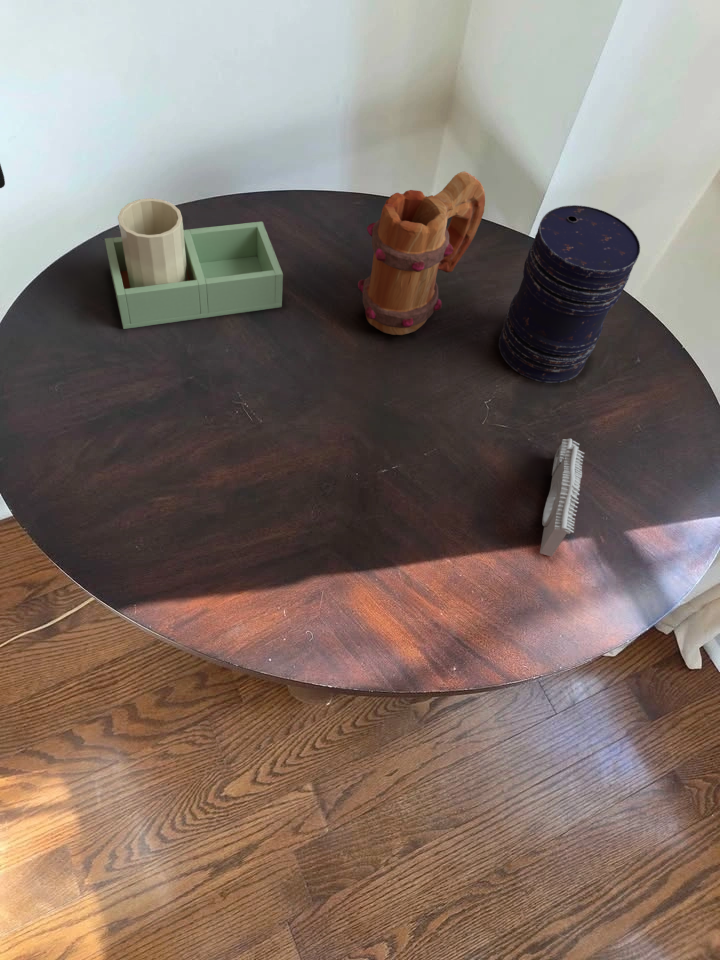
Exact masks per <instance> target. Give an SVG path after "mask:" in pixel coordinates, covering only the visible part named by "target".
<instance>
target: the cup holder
mask: <svg viewBox="0 0 720 960" xmlns="http://www.w3.org/2000/svg"><path fill="white" fill-rule="evenodd" d="M183 231H184V242H185V253H186V264H187V275H188V281H184V282H176V283H168V284H160V285H152V286H144V287H136V288H130V286H129V281H128V275H127V269H126V263H125V257H124V251H123V245H122V239H121V236H118V237H116V236H115V237H108V238H107V237H106V238H104V243H105V248H106V253H107V260H108V264H109V269H110V275H111V277H112V278H111V279H112V283H113V288H114V293H115V298H116V302H117V306H118V311H119V316H120V319H121V325H122V329H123V330H127V329H136V328H141V327H149V326H157V325H163V324H171V323H177V322H184V321H193V320H199V319H206V318H213V317H220V316H227V315H235V314H243V313H251V312H256V311H263V310H270V309H271V310H272V309H278V308H282V306H283V284H284V281H283V280H284V274H283V271H282V268H281V266H280V263H279V260H278V258H277V255H276V253H275V249H274V247H273V245H272V242H271V240H270V237H269V235H268V232H267V230H266V226H265V224H264V222H263V221H256V222H255V221H253V222H245V223H236V224H235V223H234V224H227V225H218V226H208V227H199V228H190V229H183Z"/></svg>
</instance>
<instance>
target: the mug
mask: <svg viewBox="0 0 720 960" xmlns="http://www.w3.org/2000/svg"><path fill="white" fill-rule="evenodd" d="M485 207H486V192H485V189H484V186H483V184H482V183H481V181H480V180H479V179H477V177H476V176H475V175H472V174H470V173H469V172H467V171H460V172H459V173H457V174H455V175H454V176H453V177H452V178H451V179H450V181H448V183H446V185H445V186H444V187H443V189H442V190H441V191H439V192H438V193H436V194H435V195H429V196H427V195H425V194H424V192H423V191H421V190H416V189H415V190H414V189H409V190H405V192H403V193H400V192H395V193H393V194H391V195H390V197H389V198H388V199H386V200H385V203H384V205H383V207H382V209H381V214H380V217H379V219H378V220H377V221H375V222H372V223H370V224H368V226H367V227H366V230H367V233H368V234H369V236H370V237H371V246H372V252H373V256H372V257H373V258H372V266H371V273H370V275H369V276H368V277H367V278H365V279H364V278H363V279H360V280H358V283H357V287H358V290H359V291H360V292H361V293H362V305H363V307H364V310H365V311H364V313H365V314H364V315H365V318H366V320H367V322H368V323H369V325H371V326H372V327H374V328H375V329H376V330H379V331H380V332H382V333H384V334H388V335H392V336H396V335H397V336H403V335H408V334H410V333H414V332H416V331H417V330H419V329H420V328H421V327H423V325H425V324H426V322H427V320H428V319H429V318H430V317H431V316H432V315H433V314H434V313H435V312H437V311H439V310H441V309H442V306H443V302H442V300H441V299H440V298H439V293H440V292H439V291H440V290H439V285H438V283H437V276H438V275H437V274H438V270H439V271H442V272H444V273H449V274H450V273H452V272H453V271H454V269H455V267H456V265H458V263H459V261H460V260H461V259H462V257H463V256H464V254H465V253H466V252H467V250H468V248H469V247H470V245H471V243H472V242H473V240H474V238H475V236H476V234H477V231H478V228H479V226H480V224H481V222H482V219H483V217H484V213H485ZM450 218H451V219H450ZM448 219H450V222H449V225H448V226H447V224H448Z"/></svg>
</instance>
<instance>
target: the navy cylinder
mask: <svg viewBox="0 0 720 960" xmlns="http://www.w3.org/2000/svg"><path fill="white" fill-rule="evenodd" d="M640 245H641V244H640V240H639V238H638V236H637V234H636V233H635V232H634V231H633V229H632V228H631V227H630V226H629V225H628V224H627V223H626V222H624V221H623V220H621V219H620V218H618V217H617V216H615V215H613V214H611V213H610V212H608V211H605V210H603V209H599V208H596V207H593V206H586V205H577V204H576V205H575V204H574V205H571V204H570V205H563V206H558V207H556V208H553V209H551V210H549V211H548V212H547V213H545V214H544V215H543V217H542V218H541V220H540V222H539V225H538V228H537V232H536V234H535V236H534V239H533V240H532V242H531V245H530V246H529V247H530V248H529V250H528V253H527V257H526V259H525V261H524V265H523V276H522V277H523V278H522V280H521V283H520V285H519V288H518V291H516V293H515V294H514V295H513V298H512V300H511V302H510V305H509V307H508V310H507V312H506V314H505V317H504V321H503V328H502V330H501V332H500V334H499V339H498V349H499V352H500V354H501V356H502V358H503V360H504V361H505V363H506V364H507V365H508V366H509V367H510V368H511V369H513V370H514V371H515V372H517V373H518V374H520V375H521V376H523V377H526V378H527V379H531V380H533V381H536V382H539V383H546V384H556V383H564V382H567V381H570V380H572V379H574V378H575V377H578V375H579V374H580V373H581V372H582V370H583V369H584V367H585V365H586V362H587V360H588V359H589V357H590V356H591V354H592V353H593V352H594V350H595V347H596V345H597V343H598V340H599V339H600V336H601V334H602V331H603V328H604V322H605V319H606V318H607V315H608V313H609V312H610V310H611V309H612V308H613V307H614V306H615V304H616V303H617V302H618V300H619V299H620V297H621V295H622V291H623V290H624V289H625V287H626V285H627V283H628V281H629V279H630V276H631V272H632V270H633V268H634V266H635V264H636V262H637V260H638V258H639V256H640V253H641V246H640Z"/></svg>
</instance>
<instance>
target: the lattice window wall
mask: <svg viewBox="0 0 720 960" xmlns="http://www.w3.org/2000/svg"><path fill="white" fill-rule="evenodd" d="M579 446H580V443H578V442H576V440H573V439H572V438H571V437H570V438H567V439H565V438H563V439H562V440H561V444H559V447H558V448H557V451H556V452H555V455H554V459H553V465H552V471H551V476H552V477H551V482H550V487H549V492H548V495H547V498H546V501H545V505H544V508H543V514H542V519H541V520H542V521H541V523H542V526H543V532H542V538H541V543H540V549H539V554H541V555H544V556H547V557H550V558H553V556H554V555H555V554H556V551H557V550H558V548H559V547H560V545H561V543H562V542H563V541H564V539H565V537H566V536H567V535H571V533H572V534H574V533H575V523H576V522H575V521H576V518H575V517H576V516H577V514H576V513H577V512H578V510H576V509H578V506H577V505H579V504H580V502H578V501H579V498H578V496H580V493H579V492H580V491H581V489H580V488H581V481H582V478H583V464H584V463H583V462H584V458H585V456H584V455H585V452H584V451H582V450H580V447H579ZM576 504H577V505H576ZM573 516H574V517H573Z"/></svg>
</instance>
